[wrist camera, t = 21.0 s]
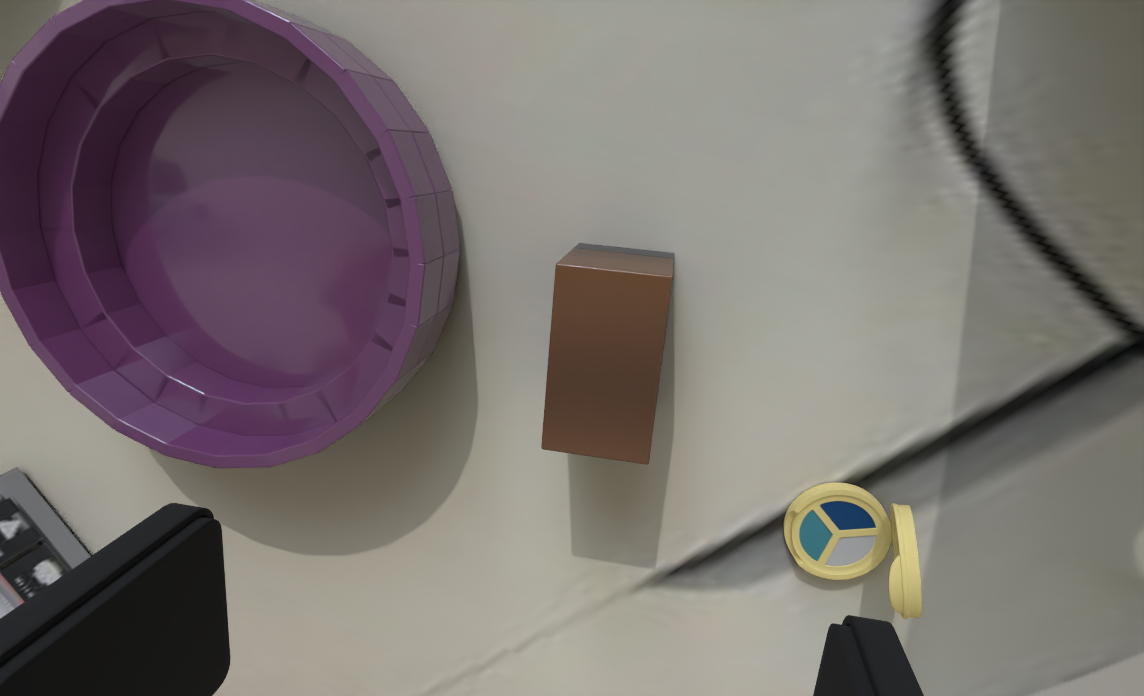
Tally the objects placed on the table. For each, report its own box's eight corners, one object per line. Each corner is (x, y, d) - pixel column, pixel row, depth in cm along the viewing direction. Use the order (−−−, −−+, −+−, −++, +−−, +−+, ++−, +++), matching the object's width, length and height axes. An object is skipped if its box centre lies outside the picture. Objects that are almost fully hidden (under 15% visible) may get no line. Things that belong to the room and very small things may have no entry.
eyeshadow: (778, 487, 31) (796, 547, 26) (899, 476, 30) (940, 538, 25) (788, 574, 32) (806, 648, 27) (905, 567, 31) (945, 642, 26)
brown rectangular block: (578, 242, 29) (555, 263, 24) (674, 253, 29) (672, 276, 23) (565, 399, 31) (541, 449, 26) (654, 411, 31) (648, 465, 25)
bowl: (281, -91, 27) (196, -142, 23) (546, 290, 30) (520, 316, 25) (10, 180, 32) (-106, 185, 28) (257, 486, 35) (189, 540, 30)
